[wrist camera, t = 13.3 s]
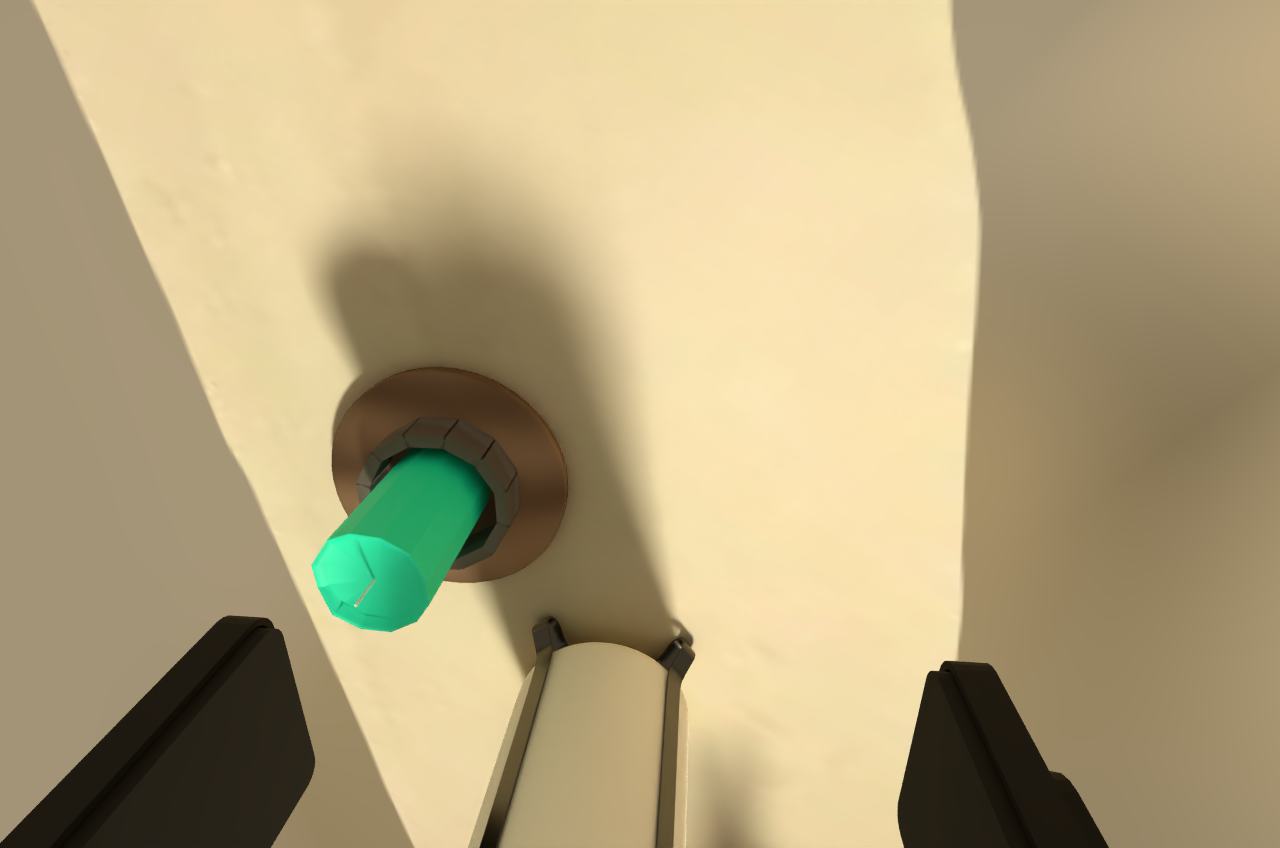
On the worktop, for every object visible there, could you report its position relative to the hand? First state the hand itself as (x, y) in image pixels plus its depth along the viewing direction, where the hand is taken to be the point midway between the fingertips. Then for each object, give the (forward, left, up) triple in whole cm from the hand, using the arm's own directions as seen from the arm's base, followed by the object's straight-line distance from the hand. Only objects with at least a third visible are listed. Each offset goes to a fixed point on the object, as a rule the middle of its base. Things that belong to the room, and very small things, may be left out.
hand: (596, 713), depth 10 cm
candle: (+13, -14, -30) cm, 35 cm away
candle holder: (+13, -14, -30) cm, 36 cm away
